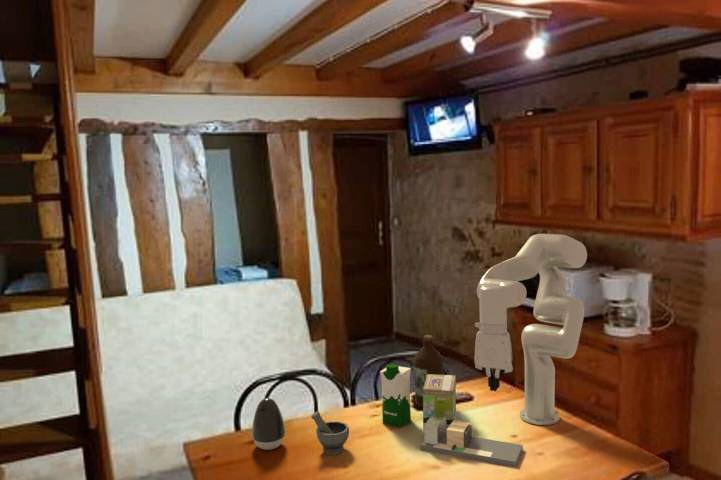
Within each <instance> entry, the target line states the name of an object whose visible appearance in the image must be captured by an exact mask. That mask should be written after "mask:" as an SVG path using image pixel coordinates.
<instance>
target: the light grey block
mask: <svg viewBox="0 0 721 480" xmlns="http://www.w3.org/2000/svg"><path fill="white" fill-rule="evenodd" d="M423 434H424V440H425V444H428V445H433V446H434V445H435V446H438V445H439V443H440V442H441V441H442V439H443V438H444V437H445V435H446V434H447V431H446V415H441V414H433V415H432V416H431V417H430V419H429V420H428V421H427V422H426V423H425V425H424V433H423Z"/></svg>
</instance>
